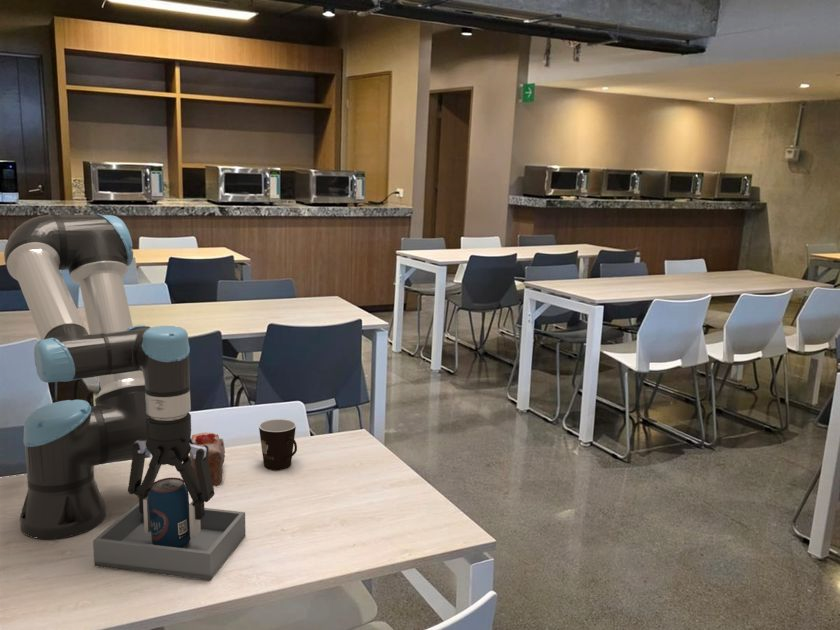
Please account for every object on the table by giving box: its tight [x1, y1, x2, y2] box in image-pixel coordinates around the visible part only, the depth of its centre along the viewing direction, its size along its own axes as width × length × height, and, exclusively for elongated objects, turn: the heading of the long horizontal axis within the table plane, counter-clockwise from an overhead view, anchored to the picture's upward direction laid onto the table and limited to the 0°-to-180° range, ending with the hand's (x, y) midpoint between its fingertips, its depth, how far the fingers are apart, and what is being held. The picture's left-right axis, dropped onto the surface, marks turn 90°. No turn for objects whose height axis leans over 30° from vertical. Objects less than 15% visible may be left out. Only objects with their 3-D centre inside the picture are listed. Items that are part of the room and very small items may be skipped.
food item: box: [189, 432, 226, 487], centre depth 164 cm, size 14×8×10 cm, turn 20°
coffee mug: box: [258, 418, 298, 472], centre depth 170 cm, size 12×9×10 cm
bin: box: [92, 501, 246, 582], centre depth 132 cm, size 22×16×5 cm
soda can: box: [148, 477, 191, 548], centre depth 131 cm, size 7×7×12 cm
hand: (172, 531), depth 132 cm, fingers open, 8 cm apart
